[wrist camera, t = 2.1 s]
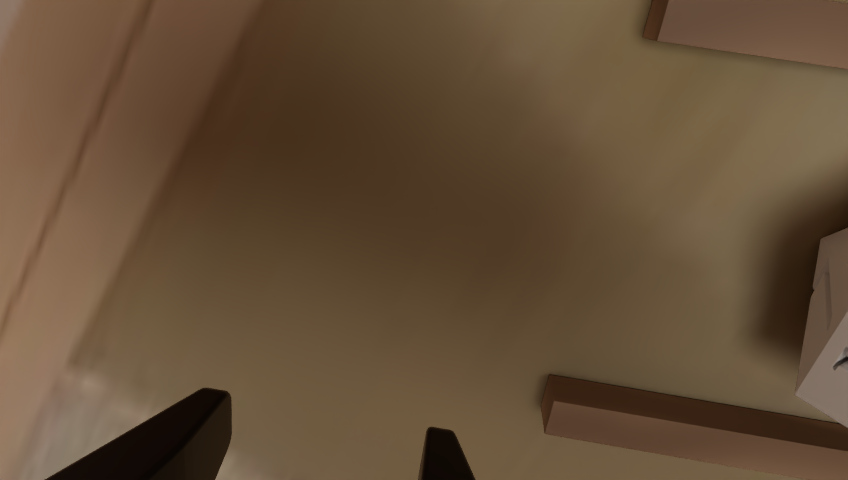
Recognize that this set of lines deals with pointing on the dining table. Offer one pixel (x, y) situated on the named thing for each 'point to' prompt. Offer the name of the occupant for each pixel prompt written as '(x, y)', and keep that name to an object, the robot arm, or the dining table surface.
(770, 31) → the lane
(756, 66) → the dining table surface
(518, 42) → the dining table surface
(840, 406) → the die
